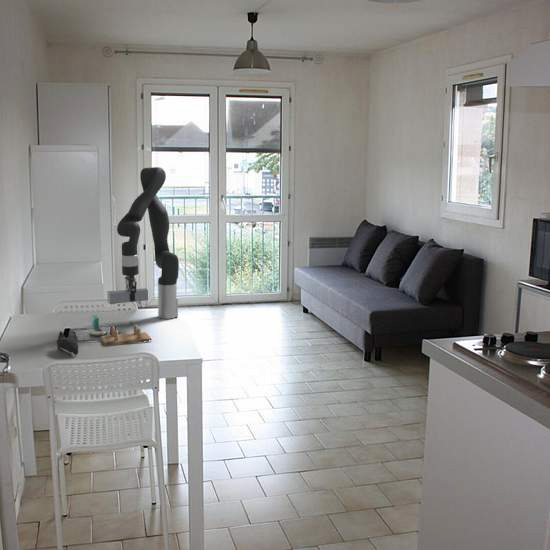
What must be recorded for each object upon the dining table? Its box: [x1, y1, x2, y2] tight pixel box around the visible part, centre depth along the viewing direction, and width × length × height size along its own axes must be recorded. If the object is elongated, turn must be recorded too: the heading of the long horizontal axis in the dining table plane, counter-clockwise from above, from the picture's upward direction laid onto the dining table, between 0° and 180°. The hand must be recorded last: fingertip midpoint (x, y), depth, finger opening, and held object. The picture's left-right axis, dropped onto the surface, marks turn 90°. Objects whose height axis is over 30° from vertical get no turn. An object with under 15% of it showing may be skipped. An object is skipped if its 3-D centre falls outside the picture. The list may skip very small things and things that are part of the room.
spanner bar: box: [106, 287, 149, 305], centre depth 330 cm, size 18×6×5 cm, turn 114°
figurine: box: [56, 330, 80, 358], centre depth 294 cm, size 8×10×15 cm
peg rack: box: [100, 324, 152, 347], centre depth 313 cm, size 20×11×6 cm, turn 113°
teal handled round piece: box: [89, 314, 108, 336], centre depth 324 cm, size 8×14×6 cm, turn 23°
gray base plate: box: [77, 327, 111, 342], centre depth 322 cm, size 15×18×1 cm
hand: (131, 300), depth 331 cm, fingers closed on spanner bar, 4 cm apart
